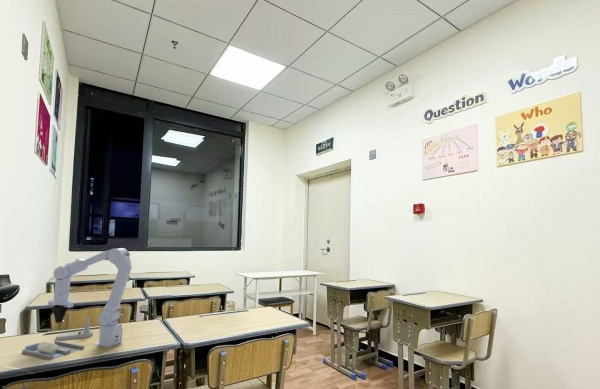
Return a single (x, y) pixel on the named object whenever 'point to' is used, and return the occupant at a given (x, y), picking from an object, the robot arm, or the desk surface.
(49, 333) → the desk surface
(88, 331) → the electronic device
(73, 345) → the tray
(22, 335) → the desk surface
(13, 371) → the desk surface
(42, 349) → the beige rounded block
